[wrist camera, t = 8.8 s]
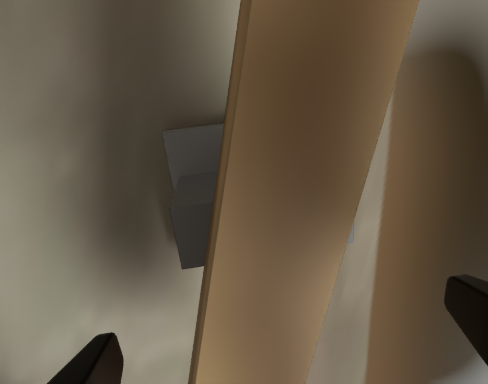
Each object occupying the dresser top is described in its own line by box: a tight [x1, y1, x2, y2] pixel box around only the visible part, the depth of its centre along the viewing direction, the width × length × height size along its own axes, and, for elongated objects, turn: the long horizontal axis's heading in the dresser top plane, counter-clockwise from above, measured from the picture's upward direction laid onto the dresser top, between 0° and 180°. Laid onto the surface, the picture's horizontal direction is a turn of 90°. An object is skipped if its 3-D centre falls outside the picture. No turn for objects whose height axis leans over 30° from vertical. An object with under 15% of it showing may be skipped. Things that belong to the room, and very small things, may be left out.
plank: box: [188, 0, 419, 384], centre depth 11 cm, size 4×22×4 cm, turn 171°
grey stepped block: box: [162, 123, 354, 269], centre depth 16 cm, size 9×8×6 cm
